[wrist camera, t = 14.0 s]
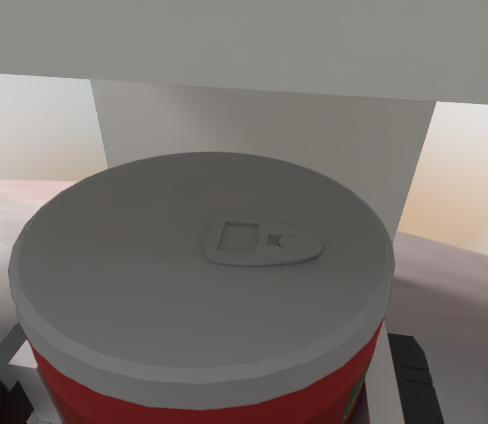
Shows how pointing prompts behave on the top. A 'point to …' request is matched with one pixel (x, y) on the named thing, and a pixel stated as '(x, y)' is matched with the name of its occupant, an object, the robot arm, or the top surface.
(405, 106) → the shelf
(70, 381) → the canned food
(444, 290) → the top surface
